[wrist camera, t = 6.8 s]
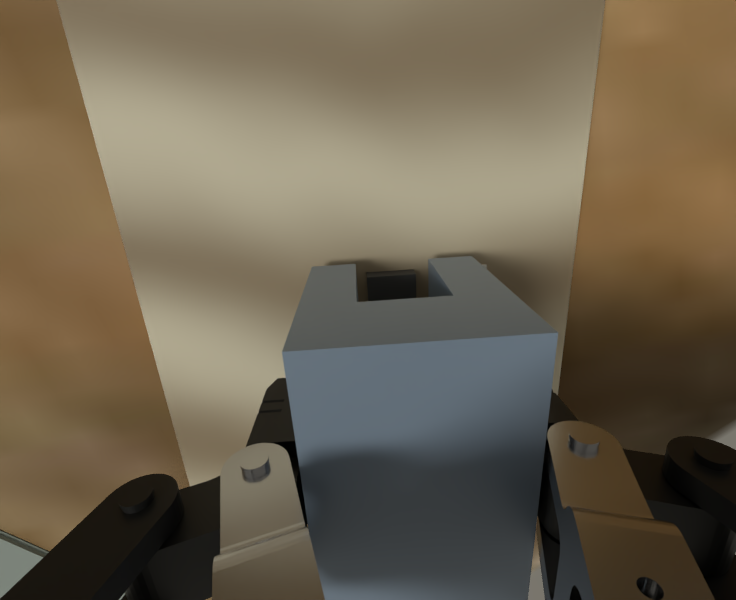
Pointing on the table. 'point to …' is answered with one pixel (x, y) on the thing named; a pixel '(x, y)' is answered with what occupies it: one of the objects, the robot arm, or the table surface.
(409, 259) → the board
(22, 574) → the metal bracket
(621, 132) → the table surface
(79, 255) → the table surface
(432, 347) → the block
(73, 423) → the table surface
